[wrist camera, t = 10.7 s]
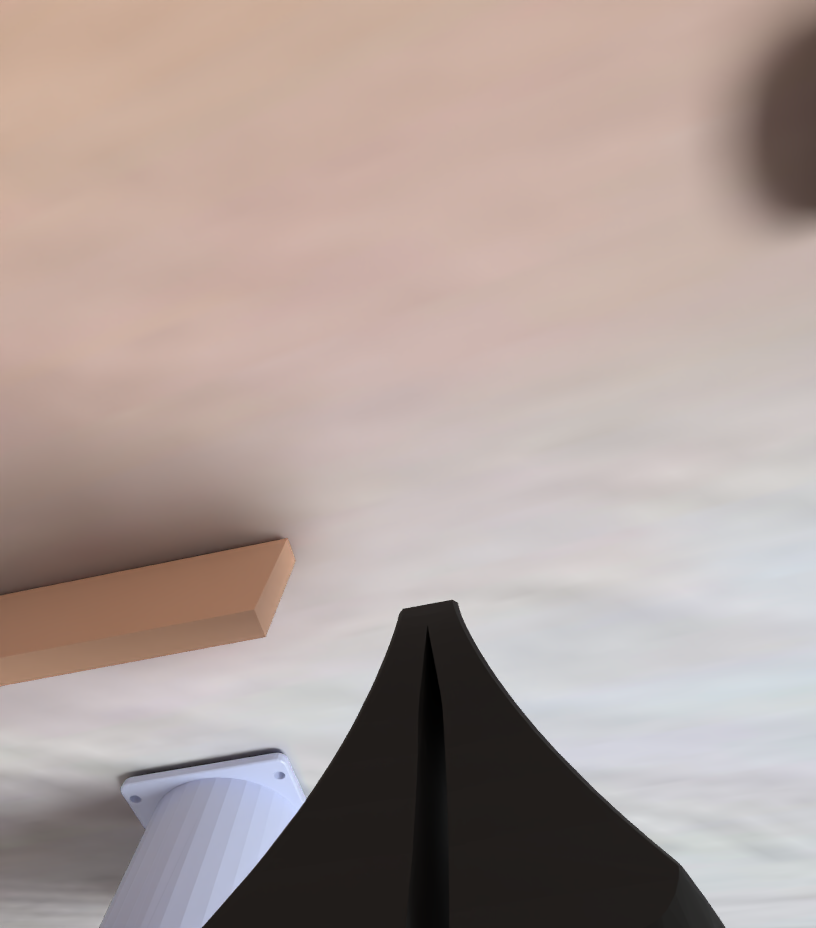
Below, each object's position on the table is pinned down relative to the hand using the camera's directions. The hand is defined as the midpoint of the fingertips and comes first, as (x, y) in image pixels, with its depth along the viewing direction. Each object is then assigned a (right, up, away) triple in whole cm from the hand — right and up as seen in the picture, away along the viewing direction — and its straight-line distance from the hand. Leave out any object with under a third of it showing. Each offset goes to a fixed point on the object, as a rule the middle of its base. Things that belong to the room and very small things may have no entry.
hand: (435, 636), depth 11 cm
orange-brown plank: (-12, 0, +6) cm, 14 cm away
